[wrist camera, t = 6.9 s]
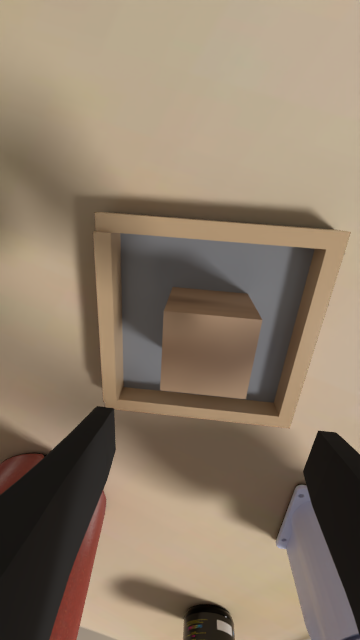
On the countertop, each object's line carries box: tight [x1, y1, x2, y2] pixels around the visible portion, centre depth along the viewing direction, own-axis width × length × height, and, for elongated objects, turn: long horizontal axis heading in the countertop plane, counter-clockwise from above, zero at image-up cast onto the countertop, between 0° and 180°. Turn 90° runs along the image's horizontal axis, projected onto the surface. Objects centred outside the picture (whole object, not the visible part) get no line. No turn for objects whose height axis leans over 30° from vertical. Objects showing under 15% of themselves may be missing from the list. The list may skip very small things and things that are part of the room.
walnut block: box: [160, 287, 262, 399], centre depth 16 cm, size 5×5×4 cm
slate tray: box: [93, 212, 351, 428], centre depth 18 cm, size 14×14×2 cm
